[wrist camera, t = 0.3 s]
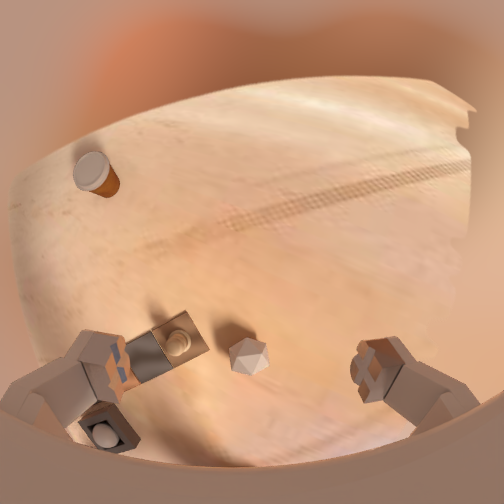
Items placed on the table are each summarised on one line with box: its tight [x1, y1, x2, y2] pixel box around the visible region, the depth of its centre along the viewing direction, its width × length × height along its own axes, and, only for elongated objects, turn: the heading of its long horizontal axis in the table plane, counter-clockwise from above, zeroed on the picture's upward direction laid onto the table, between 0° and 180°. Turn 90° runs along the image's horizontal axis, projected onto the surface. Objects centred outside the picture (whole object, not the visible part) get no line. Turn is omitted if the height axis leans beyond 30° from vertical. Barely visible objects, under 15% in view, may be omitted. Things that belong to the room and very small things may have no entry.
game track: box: [93, 312, 210, 405], centre depth 57 cm, size 10×40×1 cm, turn 120°
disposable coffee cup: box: [73, 151, 120, 198], centre depth 55 cm, size 10×10×12 cm
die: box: [229, 337, 270, 376], centre depth 56 cm, size 8×9×10 cm
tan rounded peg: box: [165, 330, 191, 356], centre depth 54 cm, size 5×5×8 cm
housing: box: [78, 404, 141, 454], centre depth 52 cm, size 12×12×5 cm
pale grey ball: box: [93, 422, 120, 448], centre depth 49 cm, size 7×7×7 cm
